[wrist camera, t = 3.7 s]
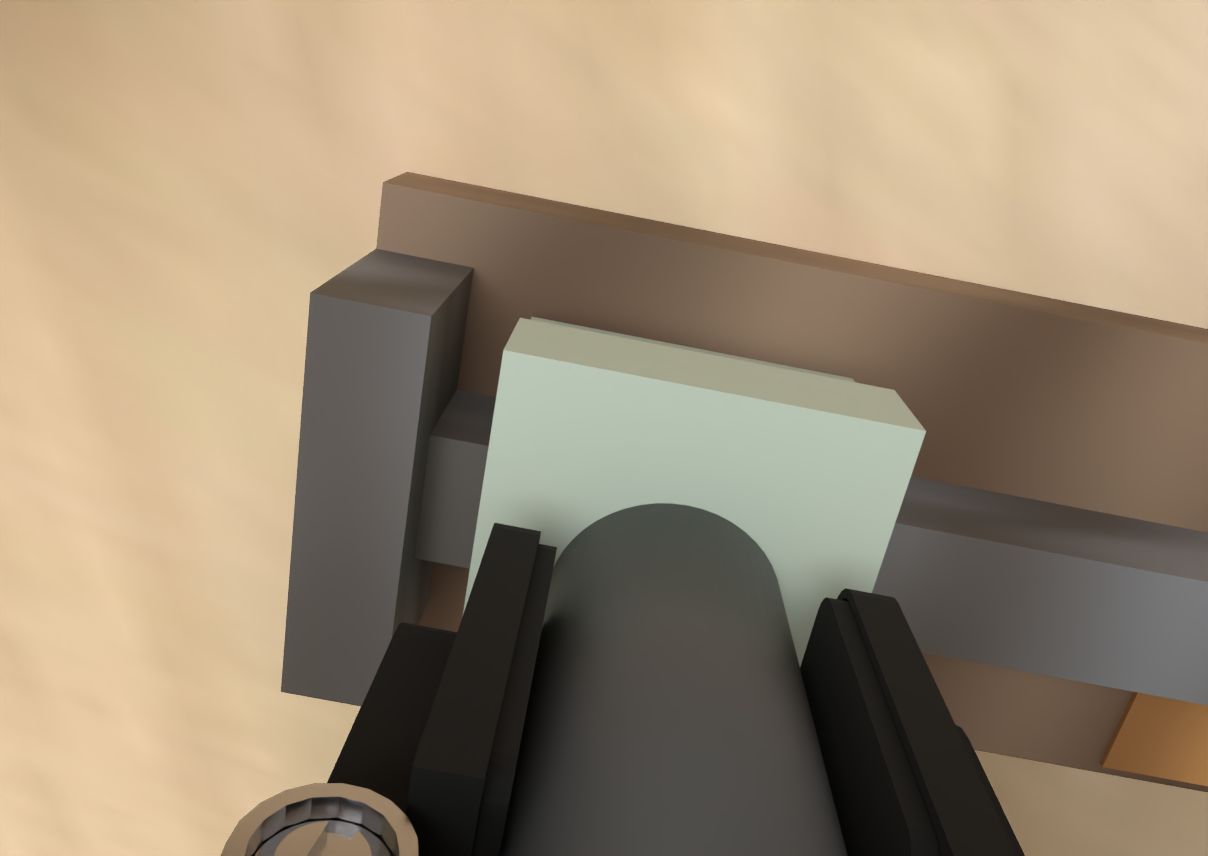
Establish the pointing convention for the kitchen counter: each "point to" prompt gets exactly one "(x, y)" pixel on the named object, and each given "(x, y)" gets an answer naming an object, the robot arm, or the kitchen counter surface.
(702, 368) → the carriage
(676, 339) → the rail base
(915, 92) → the kitchen counter surface
